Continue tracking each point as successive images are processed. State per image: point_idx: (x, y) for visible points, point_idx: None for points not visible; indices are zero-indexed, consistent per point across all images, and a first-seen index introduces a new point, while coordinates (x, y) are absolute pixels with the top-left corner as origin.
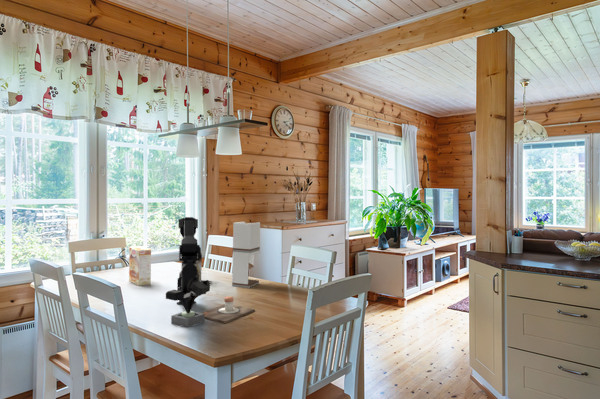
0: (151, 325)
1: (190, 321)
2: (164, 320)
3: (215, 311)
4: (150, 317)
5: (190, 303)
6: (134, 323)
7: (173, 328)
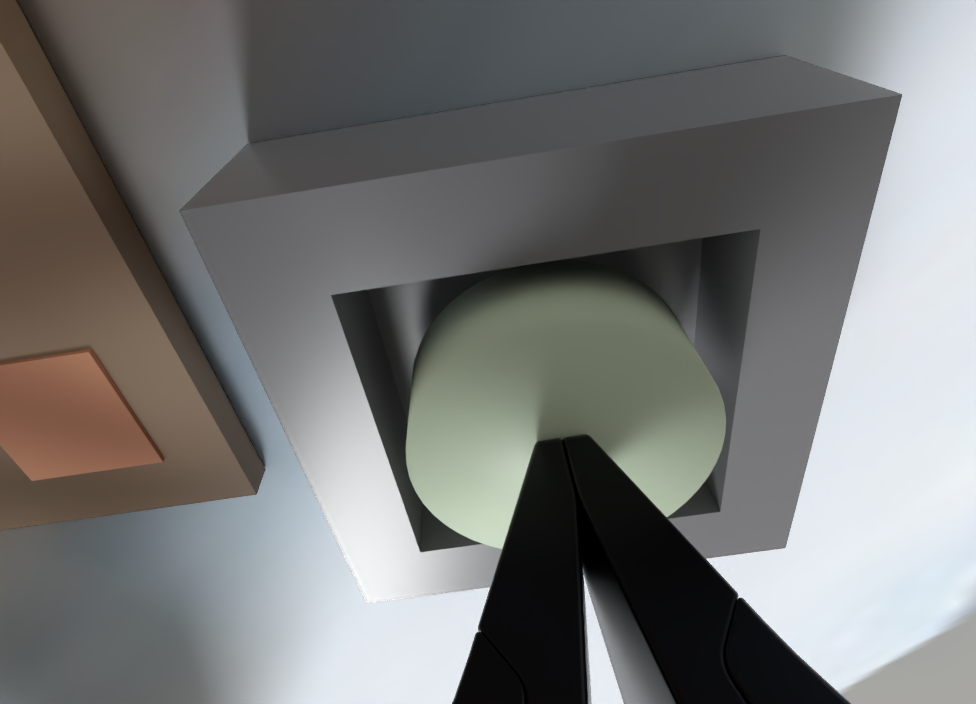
0: (913, 523)
1: (763, 92)
2: None
3: None
4: None
5: (587, 684)
6: (911, 642)
7: (938, 237)
